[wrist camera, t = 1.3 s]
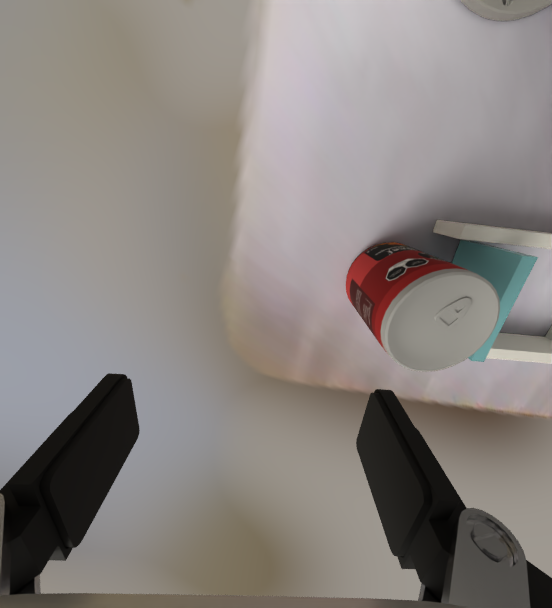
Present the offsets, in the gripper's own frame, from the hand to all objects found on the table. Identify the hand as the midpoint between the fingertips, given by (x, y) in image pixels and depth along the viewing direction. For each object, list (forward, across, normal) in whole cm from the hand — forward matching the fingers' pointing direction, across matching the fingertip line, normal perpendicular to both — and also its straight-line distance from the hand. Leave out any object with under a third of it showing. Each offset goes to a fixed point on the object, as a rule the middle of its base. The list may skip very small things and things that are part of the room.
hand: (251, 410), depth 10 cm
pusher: (+18, -20, 0) cm, 27 cm away
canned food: (+19, -12, -1) cm, 23 cm away
